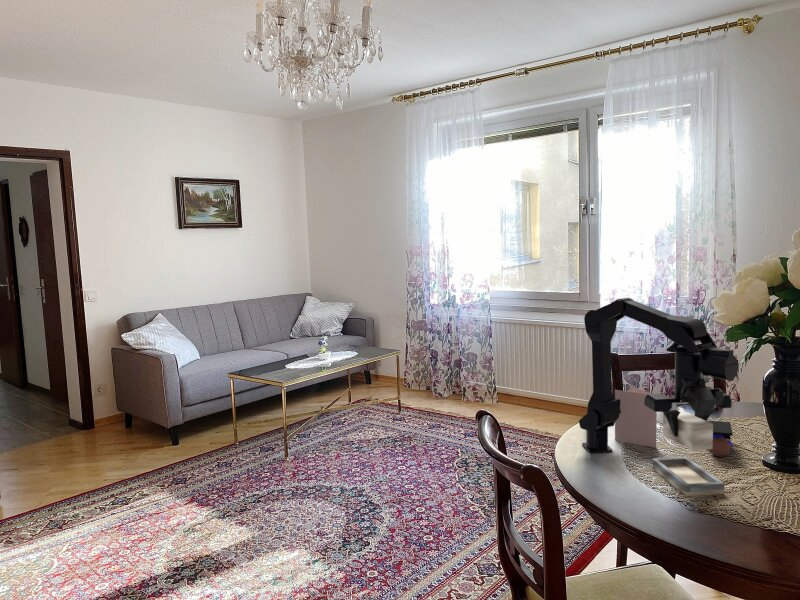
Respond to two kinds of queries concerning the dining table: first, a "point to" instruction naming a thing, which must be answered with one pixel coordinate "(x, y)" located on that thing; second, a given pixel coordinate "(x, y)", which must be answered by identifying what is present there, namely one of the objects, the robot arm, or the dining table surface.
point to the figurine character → (721, 438)
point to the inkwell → (660, 414)
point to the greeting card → (635, 418)
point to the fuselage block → (691, 432)
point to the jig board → (688, 476)
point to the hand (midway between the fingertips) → (686, 435)
